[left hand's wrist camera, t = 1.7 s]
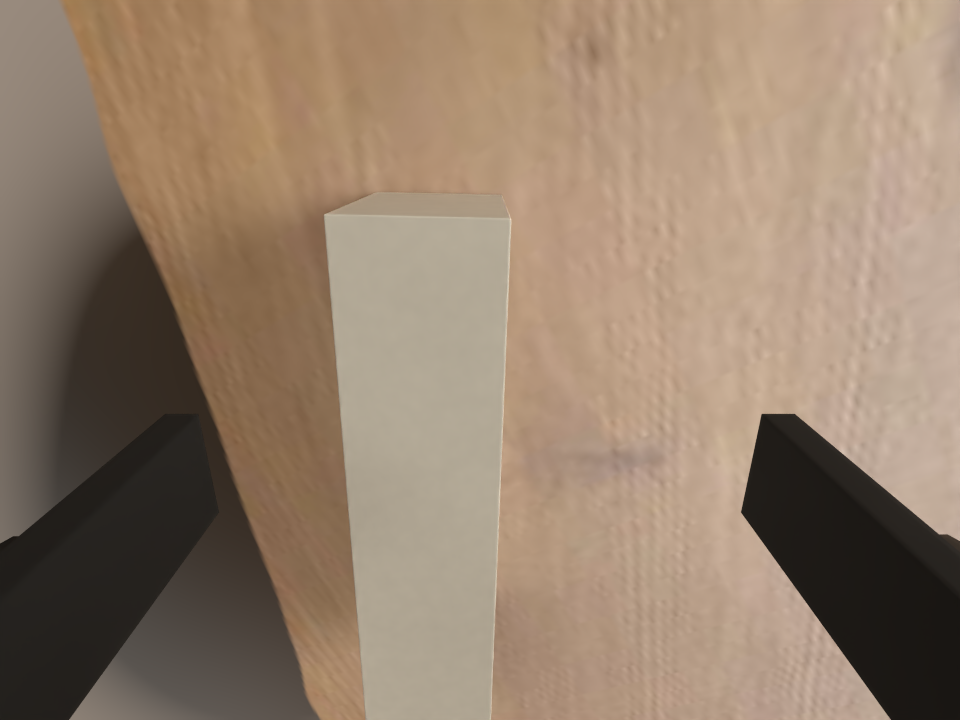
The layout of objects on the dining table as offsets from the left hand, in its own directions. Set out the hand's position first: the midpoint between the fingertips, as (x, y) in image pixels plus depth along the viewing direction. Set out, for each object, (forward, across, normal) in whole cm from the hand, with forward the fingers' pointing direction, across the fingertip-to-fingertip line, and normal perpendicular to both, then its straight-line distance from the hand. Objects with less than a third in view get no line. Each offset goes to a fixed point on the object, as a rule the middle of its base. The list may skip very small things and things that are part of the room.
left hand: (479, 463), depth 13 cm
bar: (+14, -2, -6) cm, 15 cm away
